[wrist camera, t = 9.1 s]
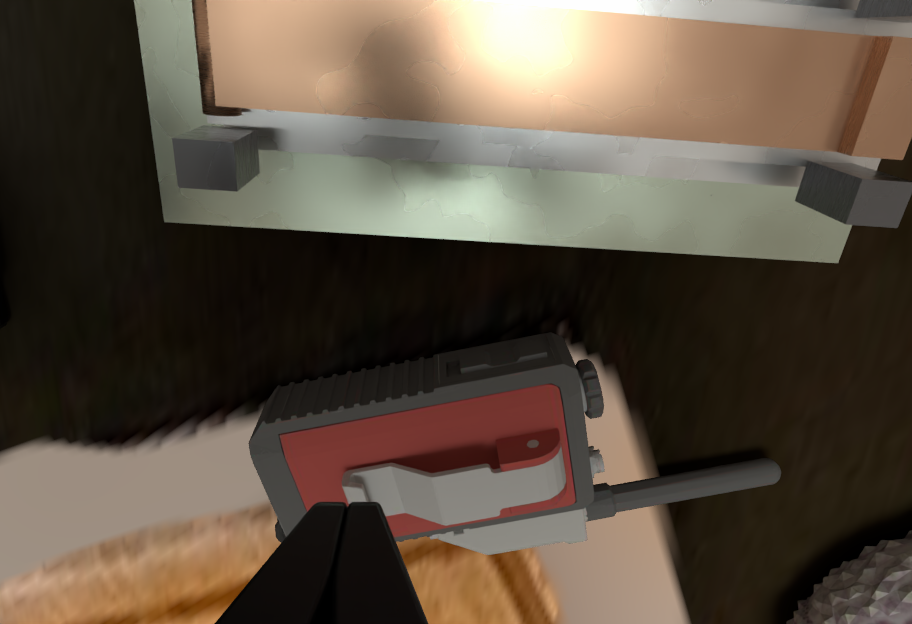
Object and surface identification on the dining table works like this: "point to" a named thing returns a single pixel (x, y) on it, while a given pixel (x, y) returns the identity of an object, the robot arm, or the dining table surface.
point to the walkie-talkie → (463, 448)
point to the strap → (558, 71)
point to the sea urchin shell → (864, 589)
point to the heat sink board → (516, 161)
